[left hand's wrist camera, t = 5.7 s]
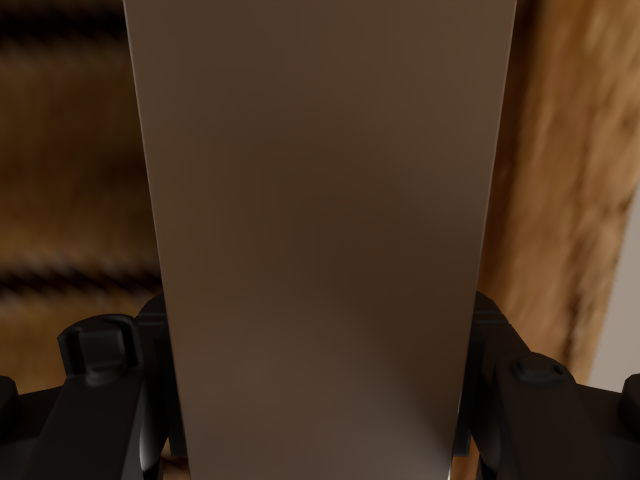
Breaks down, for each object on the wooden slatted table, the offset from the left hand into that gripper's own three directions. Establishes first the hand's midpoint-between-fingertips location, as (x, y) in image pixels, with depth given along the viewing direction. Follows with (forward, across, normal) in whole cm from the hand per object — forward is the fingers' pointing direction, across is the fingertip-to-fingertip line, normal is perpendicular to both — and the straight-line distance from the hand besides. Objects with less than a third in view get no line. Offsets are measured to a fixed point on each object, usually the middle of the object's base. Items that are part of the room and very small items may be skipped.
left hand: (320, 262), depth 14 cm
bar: (+1, 0, -27) cm, 27 cm away
